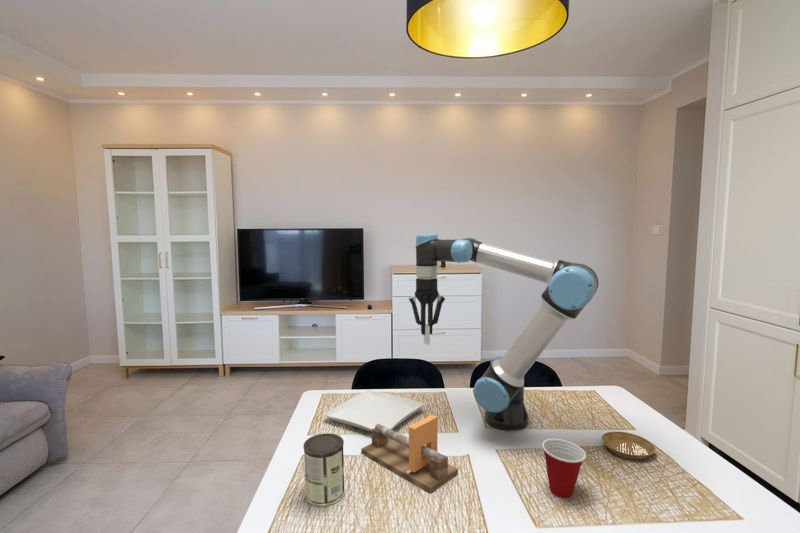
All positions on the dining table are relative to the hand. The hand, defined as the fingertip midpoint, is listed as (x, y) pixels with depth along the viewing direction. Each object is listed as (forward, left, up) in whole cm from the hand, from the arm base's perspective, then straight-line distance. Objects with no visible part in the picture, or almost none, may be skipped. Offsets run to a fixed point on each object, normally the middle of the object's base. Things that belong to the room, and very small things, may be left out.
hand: (426, 343), depth 148 cm
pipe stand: (+12, +26, -28) cm, 40 cm away
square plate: (+18, -6, -29) cm, 35 cm away
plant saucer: (-57, +31, -29) cm, 71 cm away
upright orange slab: (+8, +31, -26) cm, 41 cm away
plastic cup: (-26, +46, -29) cm, 60 cm away
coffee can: (+36, +36, -29) cm, 58 cm away
